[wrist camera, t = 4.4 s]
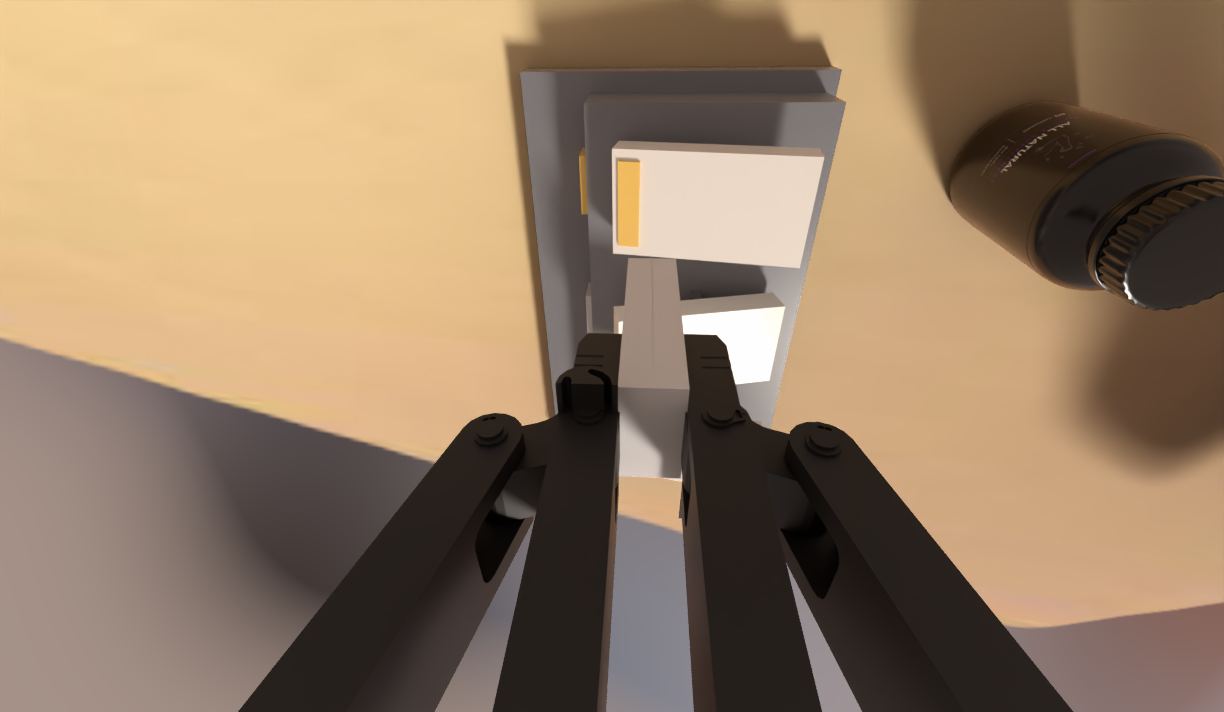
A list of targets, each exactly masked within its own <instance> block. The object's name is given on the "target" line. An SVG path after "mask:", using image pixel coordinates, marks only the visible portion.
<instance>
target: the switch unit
mask: <svg viewBox="0 0 1224 712" xmlns="http://www.w3.org/2000/svg"><path fill="white" fill-rule="evenodd" d="M841 71H842V70H841V69H838V68H836V67H833V66H824V67H694V68H565V69H524V70H523V71H521V72H520V78H521V88H522V98H523V107H524V117H525V127H526V137H527V146H528V156H529V166H530V176H531V185H532V195H533V205H534V214H535V224H536V234H537V244H538V253H539V263H540V273H541V283H542V292H543V302H544V312H545V322H546V331H547V341H548V351H549V361H550V370H551V380H552V390H553V399H554V409H555V415H556V414H558V407H557V397H556V386H555V383H556V381H557V379H558V377H559V376H560V375H561V374H563V373H564V372H565V371H567V370H569V369H572V368H573V367H574V362H575V357H576V352H577V348H578V343H579V342H580V341H581V340H582V339H583V338H584V337H585V336H586V335H587V334H588V333H610V334H614V306H624V304H625V292H626V280H627V268H628V258H657V259H676V265H677V274H678V284H679V293H680V301H682V300H693V299H704V298H716V297H727V296H738V295H750V294H761V293H772V292H773V293H774V294H775V295H776V297H777V298H778V299H779V300H780V301H781V302H782V303H783V304H784V306H785V310H784V315H783V319H782V324H781V329H780V333H779V338H778V343H777V347H776V352H775V357H774V361H773V366H772V371H771V375H770V380H769V381H761V382H752V383H743V384H736V389H737V393H738V397H739V402H740V406H742V407H743V408H744V409H745V410H747V412H748V414H749V416H750V418H751V420H754V421H760V422H762V426H763V427H766V428H769V429H770V428H771V424H772V419H773V415H774V411H775V406H776V402H777V398H778V394H779V389H780V385H781V381H782V376H783V372H784V368H785V363H786V359H787V355H788V350H789V346H790V342H791V337H792V333H793V329H794V325H795V320H796V316H797V312H798V307H799V303H800V299H801V294H802V290H803V286H804V281H805V277H806V273H807V268H808V264H809V260H810V256H811V251H812V247H813V243H814V238H815V234H816V230H817V225H818V221H819V217H820V212H821V208H822V204H823V199H824V195H825V191H826V187H827V182H828V178H829V174H830V169H831V165H832V161H833V156H834V152H835V148H836V143H837V139H838V135H839V131H840V126H841V122H842V118H843V113H844V109H845V105H846V102H845V101H843V100H841V99H839V98H837V97H836V93H837V89H838V84H839V80H840V75H841ZM618 141H642V142H669V143H696V144H723V145H750V146H777V147H804V148H820V149H821V151H822V153H823V155H824V162H823V166H822V171H821V175H820V180H819V184H818V189H817V193H816V198H815V202H814V207H813V211H812V216H811V220H810V225H809V229H808V234H807V238H806V243H805V247H804V252H803V256H802V261H801V265H800V268H790V267H778V266H765V265H752V264H740V263H727V262H715V261H702V260H689V259H677V258H664V257H651V256H639V255H626V254H614V253H613V206H612V148H613V147H614V146H615V145H616V144H617V142H618Z"/></svg>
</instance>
